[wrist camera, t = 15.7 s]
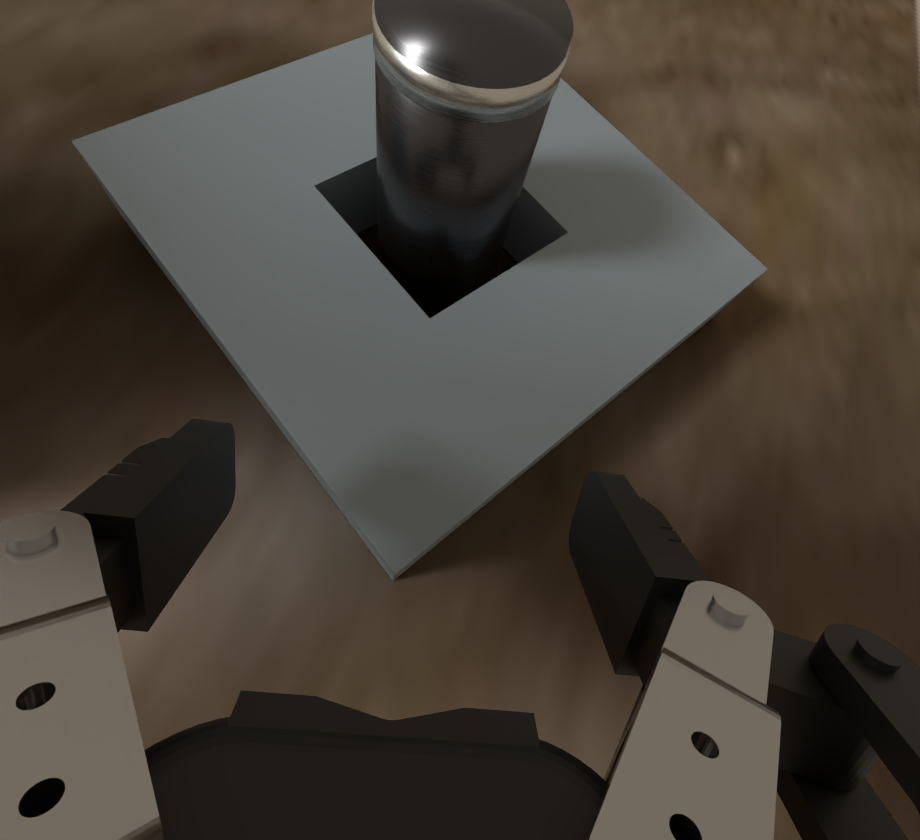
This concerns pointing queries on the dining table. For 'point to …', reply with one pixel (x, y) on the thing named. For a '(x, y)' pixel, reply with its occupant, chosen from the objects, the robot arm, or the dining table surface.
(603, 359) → the holder
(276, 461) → the dining table surface
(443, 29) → the metal cylinder
